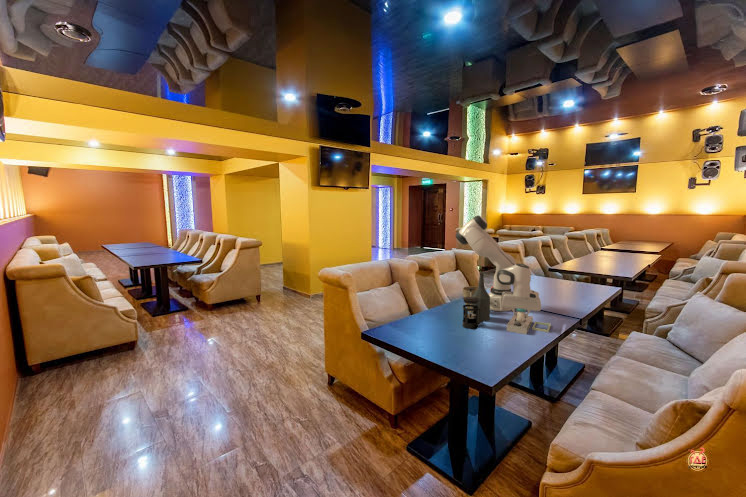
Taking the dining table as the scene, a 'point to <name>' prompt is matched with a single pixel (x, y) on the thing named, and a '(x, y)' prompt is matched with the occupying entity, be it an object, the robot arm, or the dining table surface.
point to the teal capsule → (520, 315)
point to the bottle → (482, 300)
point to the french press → (470, 319)
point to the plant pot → (469, 293)
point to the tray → (541, 324)
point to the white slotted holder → (523, 327)
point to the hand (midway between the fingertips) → (520, 316)
